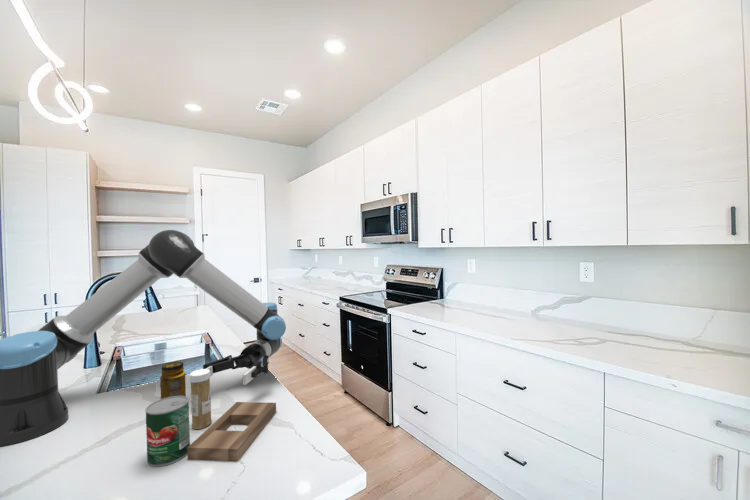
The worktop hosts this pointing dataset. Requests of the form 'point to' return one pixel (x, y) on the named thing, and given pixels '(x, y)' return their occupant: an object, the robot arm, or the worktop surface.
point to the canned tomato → (167, 430)
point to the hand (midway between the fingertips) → (220, 379)
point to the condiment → (173, 380)
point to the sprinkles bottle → (200, 398)
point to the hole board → (232, 432)
